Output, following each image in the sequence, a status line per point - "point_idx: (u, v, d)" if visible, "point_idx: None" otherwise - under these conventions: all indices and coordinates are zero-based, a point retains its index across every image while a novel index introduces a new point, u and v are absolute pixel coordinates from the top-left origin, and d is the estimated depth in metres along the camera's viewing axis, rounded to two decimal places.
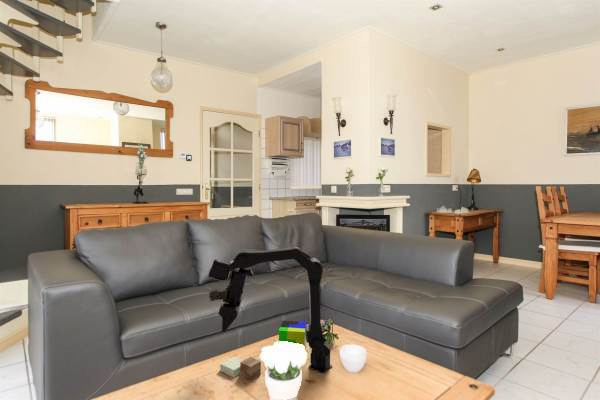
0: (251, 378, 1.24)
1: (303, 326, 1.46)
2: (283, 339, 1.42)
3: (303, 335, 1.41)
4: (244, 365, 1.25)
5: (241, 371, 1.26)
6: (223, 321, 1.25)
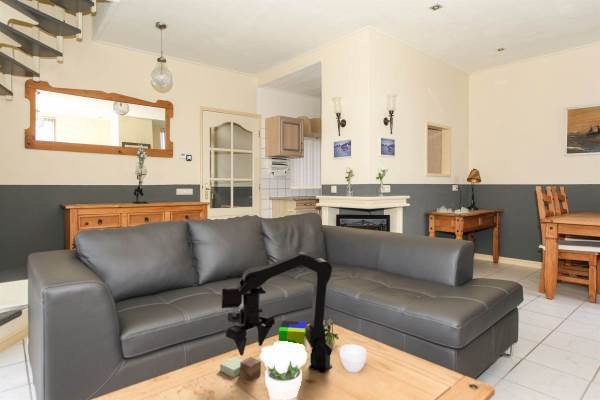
0: (251, 378, 1.24)
1: (303, 326, 1.46)
2: (283, 339, 1.42)
3: (303, 335, 1.41)
4: (244, 365, 1.25)
5: (241, 371, 1.26)
6: (236, 344, 1.22)
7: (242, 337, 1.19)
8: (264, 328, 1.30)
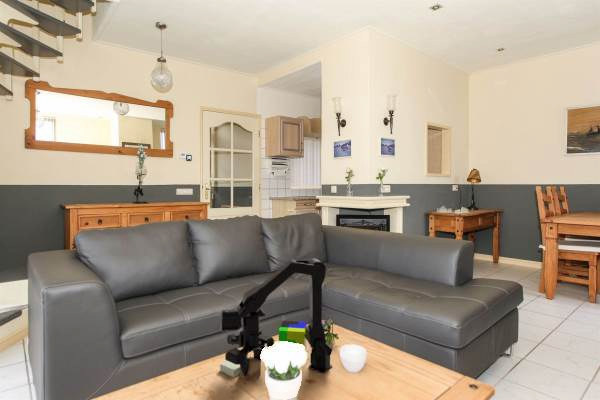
0: (251, 378, 1.24)
1: (303, 326, 1.46)
2: (283, 339, 1.42)
3: (303, 335, 1.41)
4: None
5: (241, 371, 1.26)
6: (240, 365, 1.24)
7: (241, 361, 1.19)
8: (260, 352, 1.29)
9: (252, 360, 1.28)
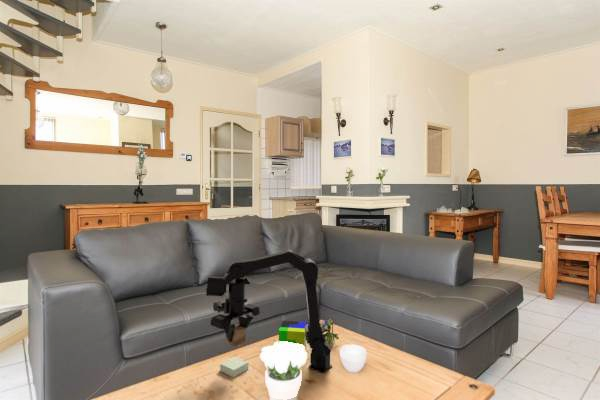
0: (236, 344, 1.26)
1: (303, 326, 1.46)
2: (283, 339, 1.42)
3: (303, 335, 1.41)
4: None
5: (226, 337, 1.28)
6: (225, 331, 1.27)
7: (226, 325, 1.21)
8: (245, 319, 1.31)
9: (237, 327, 1.30)
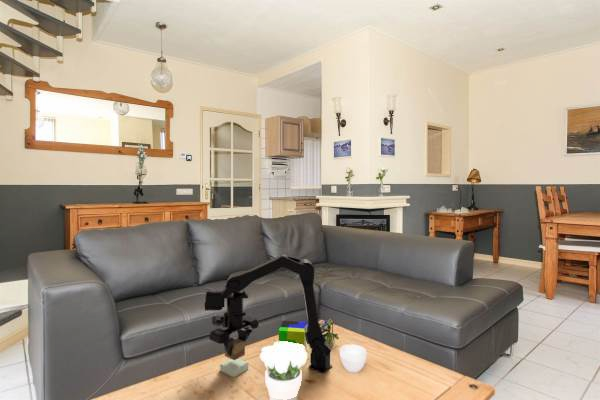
0: (235, 357, 1.27)
1: (303, 326, 1.46)
2: (283, 339, 1.42)
3: (303, 335, 1.41)
4: None
5: (225, 351, 1.29)
6: (224, 345, 1.27)
7: (225, 340, 1.22)
8: (244, 333, 1.32)
9: (236, 341, 1.31)
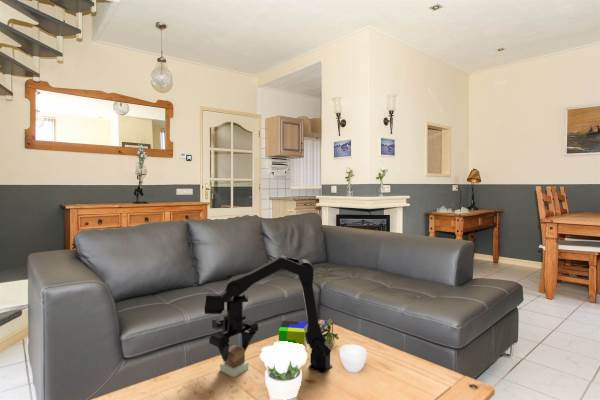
0: (235, 365, 1.27)
1: (303, 326, 1.46)
2: (283, 339, 1.42)
3: (303, 335, 1.41)
4: (228, 352, 1.29)
5: None
6: (220, 350, 1.26)
7: (225, 344, 1.22)
8: (248, 334, 1.33)
9: (236, 348, 1.31)
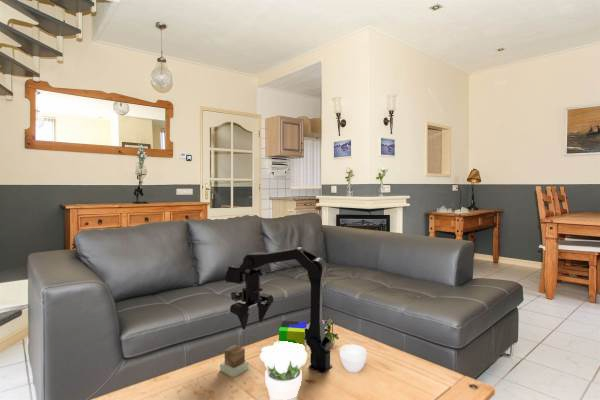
0: (235, 365, 1.27)
1: (303, 326, 1.46)
2: (283, 339, 1.42)
3: (303, 335, 1.41)
4: (228, 352, 1.29)
5: (225, 358, 1.30)
6: (239, 319, 1.36)
7: (245, 312, 1.33)
8: (264, 306, 1.44)
9: (236, 348, 1.31)
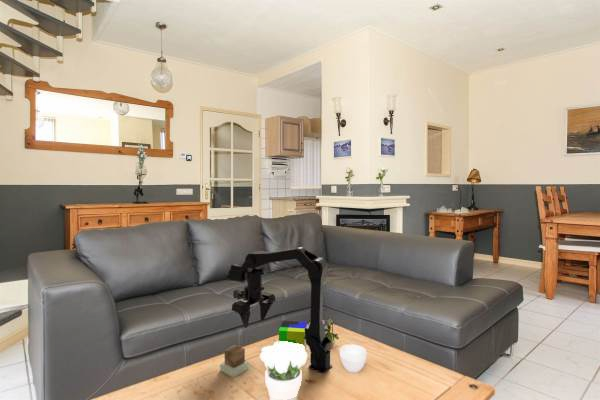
0: (235, 365, 1.27)
1: (303, 326, 1.46)
2: (283, 339, 1.42)
3: (303, 335, 1.41)
4: (228, 352, 1.29)
5: (225, 358, 1.30)
6: (241, 317, 1.38)
7: (246, 310, 1.34)
8: (266, 304, 1.45)
9: (236, 348, 1.31)
